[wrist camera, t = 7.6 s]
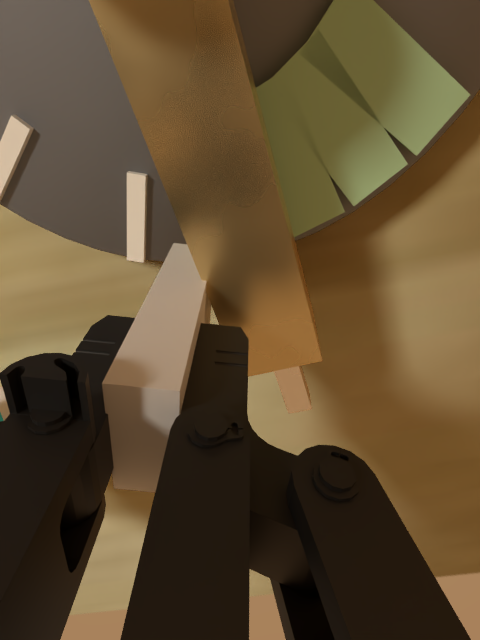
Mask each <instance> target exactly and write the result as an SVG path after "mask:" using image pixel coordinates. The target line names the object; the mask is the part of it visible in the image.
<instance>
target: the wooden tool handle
mask: <svg viewBox="0 0 480 640" xmlns="http://www.w3.org/2000/svg"><path fill="white" fill-rule="evenodd" d="M89 2H90V5H91V7H92V10H93V12H94V15H95V17H96V20H97V22H98V25H99V27H100V30H101V32H102V35H103V37H104V40H105V42H106V45H107V47H108V50H109V52H110V54H111V57H112V59H113V62H114V64H115V67H116V69H117V72H118V74H119V77H120V79H121V82H122V84H123V87H124V89H125V92H126V94H127V97H128V99H129V102H130V104H131V107H132V109H133V112H134V114H135V116H136V119H137V121H138V124H139V126H140V129H141V131H142V134H143V136H144V139H145V141H146V144H147V146H148V149H149V151H150V154H151V156H152V159H153V161H154V164H155V166H156V169H157V171H158V174H159V176H160V179H161V181H162V183H163V186H164V188H165V191H166V193H167V196H168V198H169V201H170V203H171V206H172V208H173V211H174V213H175V216H176V218H177V221H178V223H179V226H180V228H181V231H182V233H183V236H184V238H185V241H186V243H187V245H188V248H189V250H190V253H191V255H192V258H193V260H194V263H195V265H196V268H197V270H198V273H199V275H200V278H201V280H203V281H207V283H206V293H207V295H208V298H209V300H210V303H211V305H212V308H213V310H214V312H215V315H216V317H217V320H218V322H219V325H225V326H235V327H241V328H242V330H243V331H244V333H245V334H246V336H247V337H248V339H249V352H248V376H253V375H258V374H263V373H267V372H272V371H274V372H275V375H276V378H277V381H278V384H279V387H280V390H281V393H282V396H283V399H284V401H285V404H286V407H287V410H288V413H294V412H300V411H305V410H311V409H312V407H311V400H310V393H309V389H308V386H307V383H306V379H305V376H304V372H303V369H302V366H301V365H306V364H311V363H316V362H320V361H322V355H321V350H320V345H319V340H318V334H317V329H316V324H315V318H314V313H313V309H312V305H311V301H310V297H309V293H308V289H307V285H306V281H305V277H304V274H303V270H302V266H301V262H300V258H299V254H298V250H297V246H296V242H295V238H294V235H293V231H292V227H291V223H290V219H289V215H288V211H287V207H286V203H285V200H284V196H283V192H282V188H281V184H280V180H279V176H278V172H277V168H276V164H275V161H274V157H273V153H272V149H271V145H270V141H269V137H268V133H267V129H266V126H265V122H264V118H263V114H262V110H261V106H260V102H259V98H258V94H257V91H256V87H255V83H254V79H253V75H252V71H251V67H250V63H249V59H248V55H247V52H246V48H245V44H244V40H243V36H242V32H241V28H240V24H239V20H238V17H237V13H236V9H235V5H234V1H233V0H89Z"/></svg>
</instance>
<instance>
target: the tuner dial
mask: <svg viewBox="0 0 480 640" xmlns="http://www.w3.org/2000/svg"><path fill="white" fill-rule="evenodd" d="M233 1H234V5H235V9H236V13H237V17H238V20H239V24H240V28H241V32H242V36H243V40H244V44H245V48H246V52H247V55H248V59H249V63H250V67H251V71H252V75H253V79H254V83H255V87H256V91H257V94H258V98H259V102H260V106H261V110H262V114H263V118H264V122H265V126H266V129H267V133H268V137H269V141H270V145H271V149H272V153H273V157H274V161H275V164H276V168H277V172H278V176H279V180H280V184H281V188H282V192H283V196H284V200H285V203H286V207H287V211H288V215H289V219H290V223H291V227H292V231H293V235H294V238H295V241H296V240H299V239H301V238H304V237H306V236H308V235H311V234H313V233H316V232H318V231H320V230H322V229H323V228H325V227H327V226H329V225H331V224H332V223H334V222H336V221H338V220H339V219H341V218H343V217H345V216H347V215H348V214H350V213H352V212H354V211H355V210H357V209H358V208H359V207H361V206H362V205H363V204H365V203H366V202H368V201H369V200H370V199H372V198H373V197H375V196H376V195H377V194H379V193H380V192H382V191H383V190H384V189H386V188H387V187H388V186H390V185H391V184H392V183H393V182H394V181H395V180H397V179H398V178H399V177H400V176H401V175H402V174H403V173H404V172H405V171H407V170H408V169H409V168H410V167H411V166H412V165H413V164H414V163H415V162H416V161H418V160H419V159H420V158H421V157H422V156H423V155H424V154H425V153H426V152H427V151H428V150H429V149H430V148H431V147H432V146H433V145H434V144H435V142H436V141H437V140H438V139H439V138H440V137H441V136H442V135H443V134H444V132H445V131H446V130H447V129H448V128H449V127H450V126H451V125H452V124H453V122H454V121H455V120H456V119H457V118H458V117H459V116H460V115H461V114H462V112H463V111H464V110H465V108H466V107H467V106H468V104H469V103H470V102H471V100H472V99H473V98H474V96H475V95H476V93H477V92H478V91H479V89H480V0H233ZM0 204H1V205H3V206H4V207H6V208H8V209H9V210H11V211H13V212H14V213H16V214H18V215H19V216H21V217H23V218H24V219H26V220H28V221H30V222H32V223H34V224H36V225H38V226H40V227H42V228H45V229H47V230H49V231H51V232H53V233H55V234H57V235H59V236H62V237H64V238H66V239H69V240H72V241H75V242H78V243H81V244H83V245H86V246H89V247H92V248H95V249H98V250H101V251H105V252H109V253H114V254H118V255H123V256H127V260H130V261H136V262H142V263H144V262H145V260H154V261H165V259H166V257H167V255H168V253H169V251H170V249H171V247H172V245H173V243H178V244H187V243H186V241H185V238H184V236H183V233H182V231H181V228H180V226H179V223H178V221H177V218H176V216H175V213H174V211H173V208H172V206H171V203H170V201H169V198H168V196H167V193H166V191H165V188H164V186H163V183H162V181H161V179H160V176H159V174H158V171H157V169H156V166H155V164H154V161H153V159H152V156H151V154H150V151H149V149H148V146H147V144H146V141H145V139H144V136H143V134H142V131H141V129H140V126H139V124H138V121H137V119H136V116H135V114H134V112H133V109H132V107H131V104H130V102H129V99H128V97H127V94H126V92H125V89H124V87H123V84H122V82H121V79H120V77H119V74H118V72H117V69H116V67H115V64H114V62H113V59H112V57H111V54H110V52H109V50H108V47H107V45H106V42H105V40H104V37H103V35H102V32H101V30H100V27H99V25H98V22H97V20H96V17H95V15H94V12H93V10H92V7H91V5H90V2H89V0H0Z"/></svg>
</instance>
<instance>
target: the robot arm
mask: <svg viewBox="0 0 480 640" xmlns="http://www.w3.org/2000/svg"><path fill="white" fill-rule="evenodd" d="M206 283H207V281H203V280H201V278H200V275H199V273H198V270H197V268H196V265H195V263H194V260H193V258H192V255H191V253H190V250H189V248H188V245H187V244H178V243H173V245H172V247H171V249H170V251H169V253H168V255H167V257H166V259H165V261H164V263H163V265H162V267H161V269H160V271H159V273H158V275H157V277H156V279H155V281H154V282H153V284H152V286H151V288H150V290H149V292H148V294H147V296H146V298H145V300H144V302H143V304H142V306H141V308H140V310H139V312H138V314H137V316H136V318H130V317H120V316H110V315H108V316H106V317H105V318H103V319H101V320H100V321H98V322H97V323H95V324H94V325H92V326H91V328H90V329H89V331H88V332H87V334H86V335H85V337H84V338H83V341H81V343H80V344H79V346H78V347H77V349H76V352H74V353H73V355H72V356H71V355H67V354H62V353H43V354H39V355H34V356H30V357H26V358H24V359H22V360H19V361H17V362H15V363H13V364H11V365H9V366H8V367H7V368H6V369H5V370H3V371H2V372H1V373H0V380H1V383H2V387H3V391H4V394H5V398H6V401H7V405H8V408H9V412H10V414H9V415H8V417H7V418H6V419H5V421H1V422H0V640H60V639H61V636H62V633H63V630H64V627H65V625H66V622H67V619H68V616H69V614H70V611H71V608H72V605H73V602H74V600H75V597H76V594H77V591H78V588H79V586H80V583H81V580H82V577H83V574H84V572H85V569H86V566H87V563H88V560H89V558H90V555H91V552H92V549H93V546H94V544H95V541H96V538H97V535H98V532H99V530H100V527H101V524H102V521H103V518H104V514H105V507H106V503H105V495H104V493H105V490H106V487H107V485H108V482H109V479H110V476H111V474H112V477H113V486H114V489H124V490H135V491H143V492H155V496H154V500H153V505H152V509H151V513H150V517H149V521H148V526H147V530H146V534H145V538H144V543H143V547H142V551H141V555H140V559H139V564H138V568H137V572H136V576H135V581H134V585H133V589H132V593H131V597H130V602H129V606H128V610H127V614H126V619H125V623H124V628H123V631H122V635H121V640H249V568H250V569H252V570H254V571H256V572H258V573H260V574H262V575H264V576H266V577H269V578H270V580H271V584H272V587H273V591H274V595H275V599H276V603H277V607H278V611H279V614H280V618H281V622H282V626H283V630H284V633H285V638H286V640H471V639H470V637H469V635H468V634H467V632H466V630H465V628H464V627H463V625H462V623H461V622H460V620H459V619H458V616H457V615H456V613H455V611H454V610H453V608H452V606H451V605H450V603H449V601H448V599H447V598H446V596H445V594H444V592H443V591H442V589H441V587H440V586H439V584H438V582H437V580H436V579H435V577H434V575H433V573H432V572H431V570H430V568H429V567H428V565H427V563H426V561H425V560H424V558H423V556H422V555H421V553H420V551H419V549H418V548H417V546H416V544H415V543H414V541H413V539H412V537H411V536H410V534H409V532H408V531H407V529H406V527H405V525H404V524H403V522H402V520H401V518H400V517H399V515H398V513H397V512H396V510H395V508H394V506H393V505H392V503H391V501H390V500H389V498H388V496H387V494H386V493H385V491H384V489H383V488H382V486H381V484H380V482H379V481H378V479H377V477H376V476H375V474H374V473H373V471H372V470H371V469H370V468H369V467H368V465H367V464H366V463H365V462H364V461H363V460H362V459H360V458H359V457H357V456H356V455H355V454H353V453H352V452H350V451H348V450H345V449H342V448H339V447H337V446H330V445H317V446H314V447H310V448H307V449H305V450H304V451H303V452H302V453H301V454H299V455H298V456H297V455H294V454H291V453H289V452H286V451H283V450H281V449H278V448H276V447H274V446H272V445H270V444H268V443H266V442H265V441H264V440H263V439H261V438H260V437H259V436H258V435H257V434H256V433H255V432H254V430H253V429H252V428H251V425H250V423H249V421H248V416H247V393H248V352H249V339H248V337H247V336H246V334H245V333H244V331H243V330H242V328H241V327H235V326H225V325H215V324H210V314H211V303H210V300H209V298H208V295H207V293H206Z"/></svg>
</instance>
